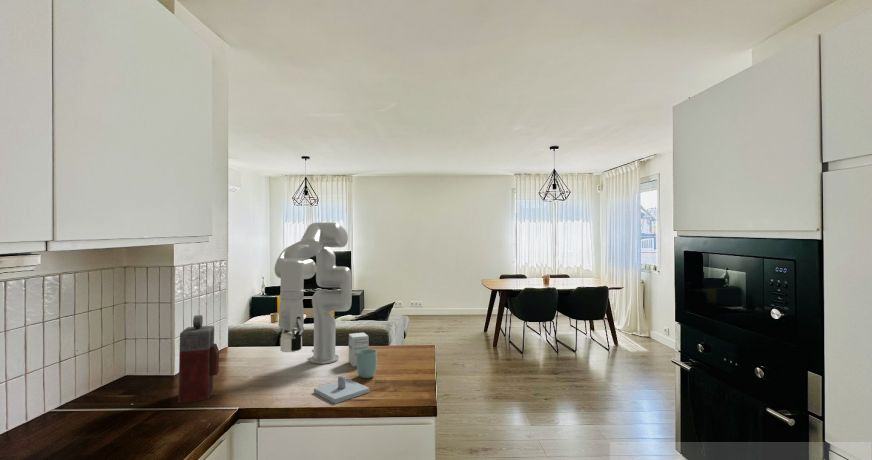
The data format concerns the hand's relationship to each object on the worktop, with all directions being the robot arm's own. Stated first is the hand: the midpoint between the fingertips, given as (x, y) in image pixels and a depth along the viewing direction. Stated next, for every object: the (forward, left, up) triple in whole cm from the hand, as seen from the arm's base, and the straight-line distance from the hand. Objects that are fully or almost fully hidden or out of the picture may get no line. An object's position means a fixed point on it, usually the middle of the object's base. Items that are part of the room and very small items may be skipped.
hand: (291, 347), depth 135 cm
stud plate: (+7, +15, -17) cm, 24 cm away
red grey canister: (-26, -21, -18) cm, 37 cm away
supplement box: (-17, +39, -18) cm, 46 cm away
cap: (0, 0, -1) cm, 1 cm away
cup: (0, +31, -18) cm, 36 cm away
